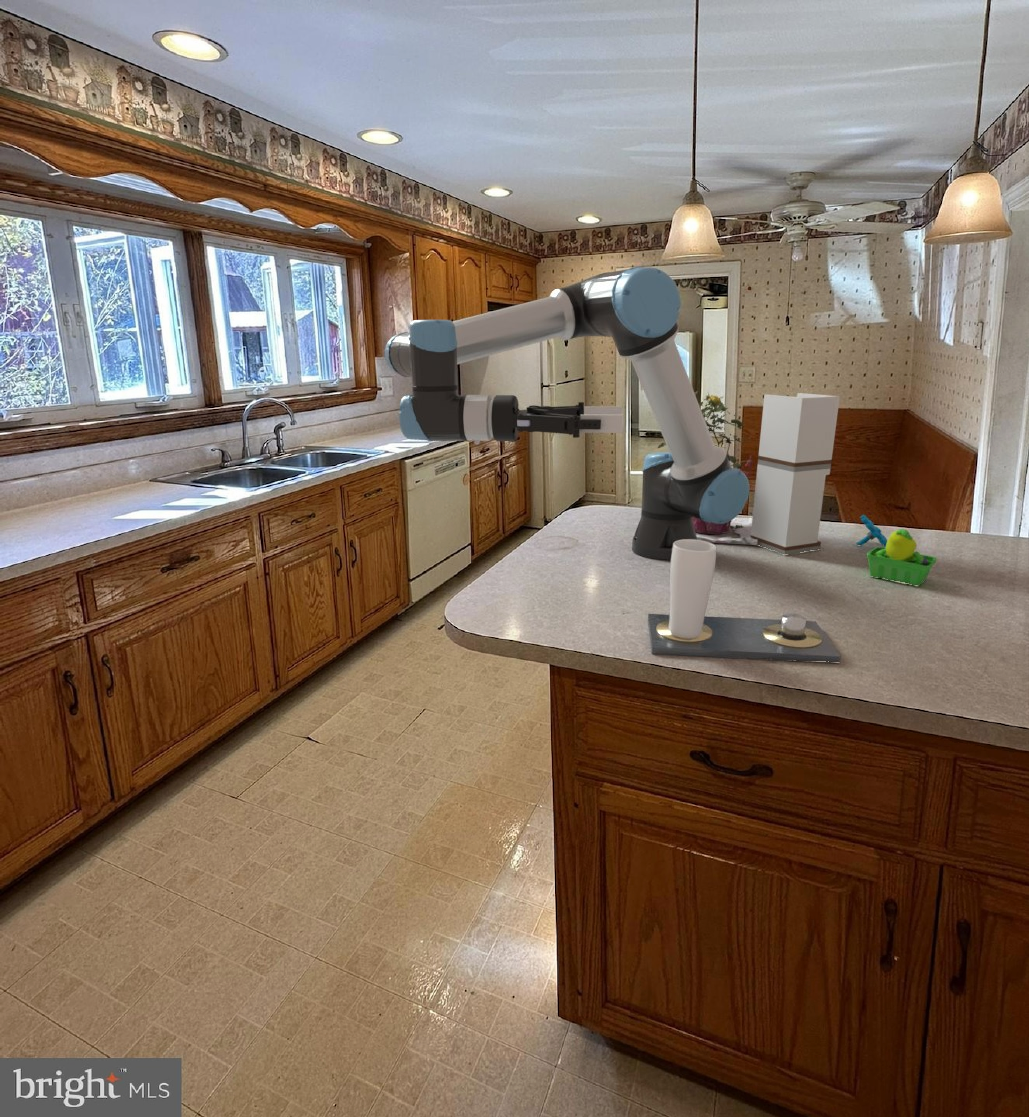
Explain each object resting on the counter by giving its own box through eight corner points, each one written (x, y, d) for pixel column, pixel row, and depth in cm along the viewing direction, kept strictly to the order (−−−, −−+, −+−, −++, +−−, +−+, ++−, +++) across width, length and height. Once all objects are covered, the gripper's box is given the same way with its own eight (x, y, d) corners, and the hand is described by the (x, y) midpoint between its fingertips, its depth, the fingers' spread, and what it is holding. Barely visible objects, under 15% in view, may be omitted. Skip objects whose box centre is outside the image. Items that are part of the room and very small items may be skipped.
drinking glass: (707, 628, 117) (718, 541, 112) (705, 645, 110) (716, 553, 106) (666, 622, 119) (674, 536, 114) (661, 638, 112) (670, 548, 108)
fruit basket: (933, 581, 143) (943, 527, 140) (921, 592, 137) (931, 536, 134) (873, 569, 151) (881, 517, 147) (859, 579, 145) (867, 525, 141)
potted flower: (754, 520, 190) (765, 386, 179) (757, 544, 167) (769, 393, 157) (654, 515, 197) (658, 386, 187) (643, 538, 174) (648, 393, 164)
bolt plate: (814, 627, 120) (818, 603, 119) (839, 663, 107) (843, 636, 106) (647, 620, 124) (649, 596, 123) (651, 653, 111) (653, 627, 109)
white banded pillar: (819, 550, 164) (839, 396, 154) (784, 555, 160) (802, 398, 150) (784, 538, 174) (800, 393, 164) (749, 543, 170) (764, 394, 160)
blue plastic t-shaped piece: (894, 549, 159) (864, 514, 161) (870, 564, 162) (841, 530, 164) (895, 544, 169) (867, 511, 171) (873, 558, 171) (845, 526, 173)
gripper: (504, 431, 130) (621, 432, 127) (480, 452, 107) (622, 454, 104) (504, 389, 128) (622, 389, 125) (479, 401, 104) (624, 402, 102)
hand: (622, 419), depth 115 cm, fingers open, 13 cm apart
